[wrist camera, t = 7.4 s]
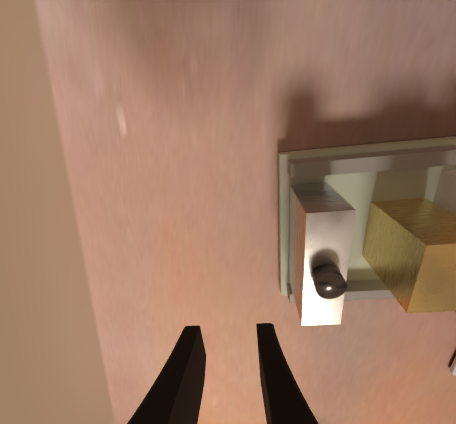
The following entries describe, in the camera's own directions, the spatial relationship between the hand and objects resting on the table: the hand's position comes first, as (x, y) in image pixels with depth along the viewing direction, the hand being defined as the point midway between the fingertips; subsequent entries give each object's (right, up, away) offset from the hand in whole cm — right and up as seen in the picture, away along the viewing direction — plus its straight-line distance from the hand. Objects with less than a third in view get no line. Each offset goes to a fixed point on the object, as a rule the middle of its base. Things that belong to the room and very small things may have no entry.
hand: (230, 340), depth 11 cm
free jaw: (+6, +4, +7) cm, 10 cm away
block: (+12, +4, +7) cm, 14 cm away
